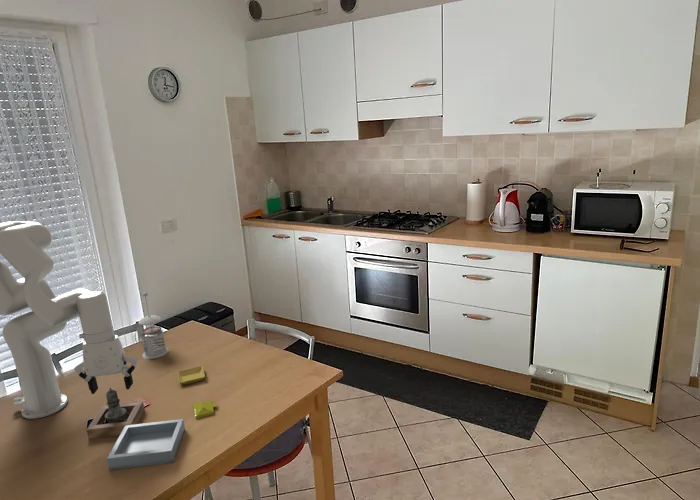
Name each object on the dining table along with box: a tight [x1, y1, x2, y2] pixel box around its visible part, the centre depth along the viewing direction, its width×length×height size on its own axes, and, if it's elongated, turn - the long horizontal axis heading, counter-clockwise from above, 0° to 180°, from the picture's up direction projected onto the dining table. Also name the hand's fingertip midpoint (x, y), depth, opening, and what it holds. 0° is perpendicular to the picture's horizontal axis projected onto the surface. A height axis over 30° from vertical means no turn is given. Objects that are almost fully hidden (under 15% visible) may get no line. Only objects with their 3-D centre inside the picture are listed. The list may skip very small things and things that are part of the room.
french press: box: [134, 291, 170, 360], centre depth 184 cm, size 10×12×25 cm
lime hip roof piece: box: [192, 399, 218, 420], centre depth 148 cm, size 10×9×3 cm
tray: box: [106, 418, 186, 471], centre depth 131 cm, size 16×14×4 cm
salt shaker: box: [105, 387, 128, 424], centre depth 142 cm, size 6×6×12 cm
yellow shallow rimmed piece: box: [177, 365, 206, 386], centre depth 167 cm, size 9×9×2 cm
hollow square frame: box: [86, 400, 145, 440], centre depth 143 cm, size 12×12×3 cm
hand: (112, 389), depth 140 cm, fingers open, 9 cm apart
